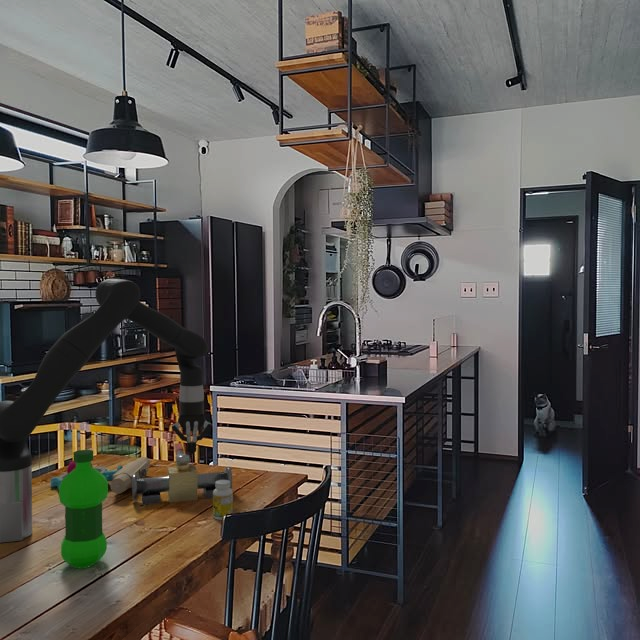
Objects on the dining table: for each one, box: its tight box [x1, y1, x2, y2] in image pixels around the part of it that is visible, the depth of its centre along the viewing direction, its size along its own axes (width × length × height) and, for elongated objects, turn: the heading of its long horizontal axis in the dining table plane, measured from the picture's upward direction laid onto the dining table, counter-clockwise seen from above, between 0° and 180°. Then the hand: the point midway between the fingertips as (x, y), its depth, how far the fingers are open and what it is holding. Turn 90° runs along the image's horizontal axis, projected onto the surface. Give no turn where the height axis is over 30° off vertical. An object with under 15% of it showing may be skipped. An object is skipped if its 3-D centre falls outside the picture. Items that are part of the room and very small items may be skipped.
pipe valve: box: [131, 462, 233, 505], centre depth 181 cm, size 28×7×10 cm, turn 108°
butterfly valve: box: [50, 456, 151, 495], centre depth 191 cm, size 27×7×30 cm
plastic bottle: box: [58, 449, 109, 569], centre depth 136 cm, size 10×10×25 cm
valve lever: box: [173, 442, 190, 465], centre depth 187 cm, size 18×4×2 cm, turn 18°
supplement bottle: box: [212, 480, 234, 521], centre depth 165 cm, size 5×5×10 cm
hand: (191, 453), depth 194 cm, fingers closed
